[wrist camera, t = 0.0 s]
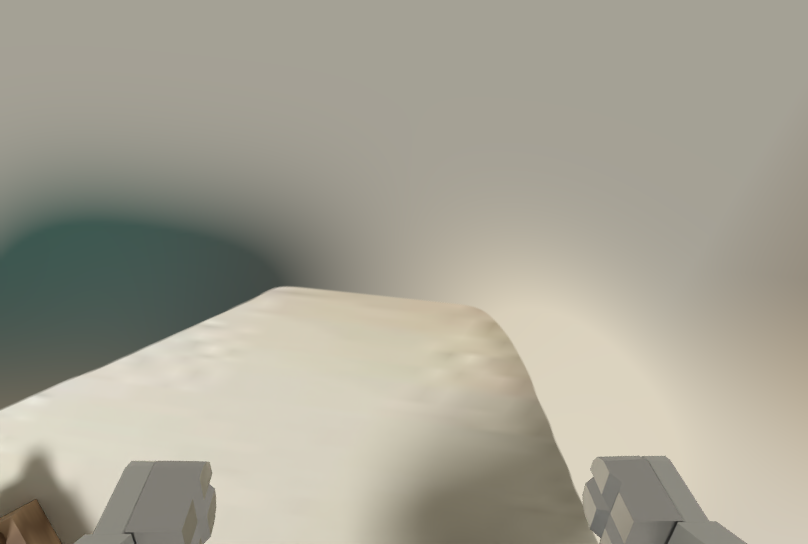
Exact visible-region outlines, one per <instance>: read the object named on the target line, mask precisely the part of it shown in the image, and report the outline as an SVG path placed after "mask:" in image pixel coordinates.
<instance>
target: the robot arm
mask: <svg viewBox="0 0 808 544" xmlns="http://www.w3.org/2000/svg"><path fill="white" fill-rule="evenodd" d="M590 469H591V472H592V474H593V476H594V477H593V478H592V479H590V480H589V481H588V482H587V483H586V484H585V488H584V492H583V509H584V513H585V518H586V520H587V523H588V525H589V528H590V529H591V530H592V531H593V532H594V533H595V534H597V535H598V536H599V537H600V538H601V540H600V543H599V544H747V543H745V542H744V541H743V540H741V539H740V538H738V537H737V536H736V535H734V534H733V533H732V532H730V531H729V530H727V529H726V528H725V527H723V526H722V525H720V524H719V523H718V522H712V521H709V520H708V518H707V517H706V515H705V514H704V512H703V511H702V509H701V507H700V506H699V504H698V503H697V501H696V500H695V498H694V497H693V495H692V493H691V492H690V490H689V489H688V487H687V486H686V484H685V482H684V481H683V480H682V478H681V476H680V475H679V473H678V472H677V470H676V468H675V467H674V465H673V464H672V462H671V461H670V460H669V459H668V458H667V457H666V456H642V457H640V456H617V457H597V458H596V459H595V460H593V463H592V465H591V468H590ZM211 476H212V470H211V466H210V462H199V461H131V462H130V463H129V464H128V466H127V467H126V468H125V469H124V471H123V473H122V475H121V477H120V480H119V482H118V484H117V486H116V488H115V490H114V492H113V494H112V496H111V498H110V500H109V502H108V504H107V506H106V508H105V510H104V512H103V514H102V516H101V518H100V520H99V522H98V524H97V526H96V528H95V530H94V532H93V534H87V535H83V536H82V537H81V538H80V539H78V540H77V541H76V542H75V543H73V544H204V543H205V542H206V541H207V540H208V539H209V538H210V537H211V533H212V529H213V525H214V520H215V513H216V493H215V488H213V487H212V486H211V485H210V484H209V483H210V479H211Z"/></svg>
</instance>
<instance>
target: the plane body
mask: <svg viewBox="0 0 808 544" xmlns="http://www.w3.org/2000/svg"><path fill="white" fill-rule="evenodd" d="M0 544H61V542H60V540H59V538H58V537H57V535H56V533H55V531H54V529H53V528H52V526H51V524H50V522H49V521H48V519H47V517H46V515H45V514H44V512H43V510H42V508H41V507H40V505H39V503H38V501H37V499H35V500H33V501H31V502H30V503H28V504H26V505H24V506H22V507H20V508H18V509H16V510H14V511H13V512H11V513H9V514H7V515H5V516H3V517H1V518H0Z"/></svg>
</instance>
